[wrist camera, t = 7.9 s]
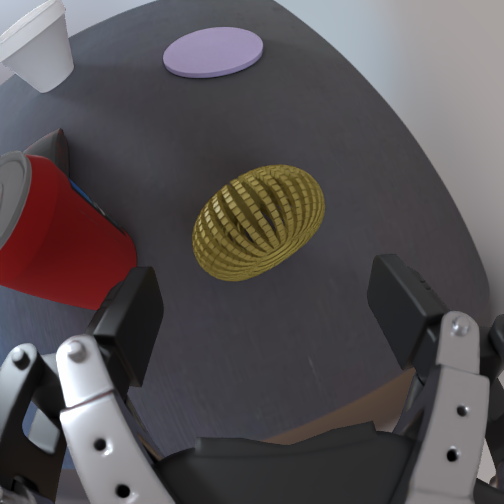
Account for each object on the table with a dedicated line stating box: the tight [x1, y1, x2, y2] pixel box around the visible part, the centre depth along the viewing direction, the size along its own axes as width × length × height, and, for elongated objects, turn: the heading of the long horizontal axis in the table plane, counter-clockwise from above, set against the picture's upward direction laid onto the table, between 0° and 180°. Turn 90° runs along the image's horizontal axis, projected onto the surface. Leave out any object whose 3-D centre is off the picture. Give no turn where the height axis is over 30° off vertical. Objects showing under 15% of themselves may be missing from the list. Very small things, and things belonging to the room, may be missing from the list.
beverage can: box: [0, 151, 137, 310], centre depth 13 cm, size 7×7×12 cm
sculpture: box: [192, 165, 325, 281], centre depth 16 cm, size 8×4×8 cm, turn 122°
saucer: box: [163, 27, 263, 78], centre depth 26 cm, size 12×12×1 cm
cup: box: [0, 0, 74, 93], centre depth 22 cm, size 12×12×14 cm
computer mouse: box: [23, 128, 69, 178], centre depth 20 cm, size 8×14×4 cm, turn 24°
